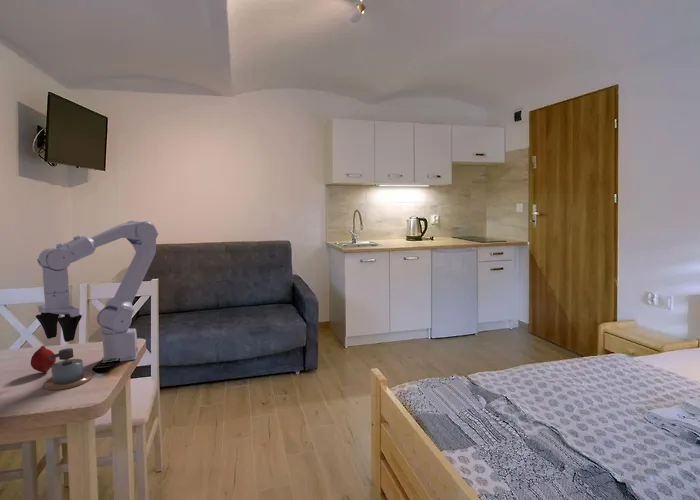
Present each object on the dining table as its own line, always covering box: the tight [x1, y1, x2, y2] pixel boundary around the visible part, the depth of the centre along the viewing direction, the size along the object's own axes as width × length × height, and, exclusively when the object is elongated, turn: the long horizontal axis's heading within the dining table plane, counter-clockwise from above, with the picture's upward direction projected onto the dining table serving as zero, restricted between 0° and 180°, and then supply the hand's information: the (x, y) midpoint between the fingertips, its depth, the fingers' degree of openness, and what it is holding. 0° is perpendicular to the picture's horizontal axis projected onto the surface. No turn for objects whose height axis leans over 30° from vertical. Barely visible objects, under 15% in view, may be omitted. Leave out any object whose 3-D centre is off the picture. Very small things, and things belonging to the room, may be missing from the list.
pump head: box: [49, 347, 74, 362], centre depth 112 cm, size 5×5×3 cm
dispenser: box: [43, 358, 93, 391], centre depth 114 cm, size 11×11×6 cm
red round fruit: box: [30, 345, 57, 374], centre depth 120 cm, size 6×6×8 cm
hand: (60, 339), depth 117 cm, fingers open, 7 cm apart
